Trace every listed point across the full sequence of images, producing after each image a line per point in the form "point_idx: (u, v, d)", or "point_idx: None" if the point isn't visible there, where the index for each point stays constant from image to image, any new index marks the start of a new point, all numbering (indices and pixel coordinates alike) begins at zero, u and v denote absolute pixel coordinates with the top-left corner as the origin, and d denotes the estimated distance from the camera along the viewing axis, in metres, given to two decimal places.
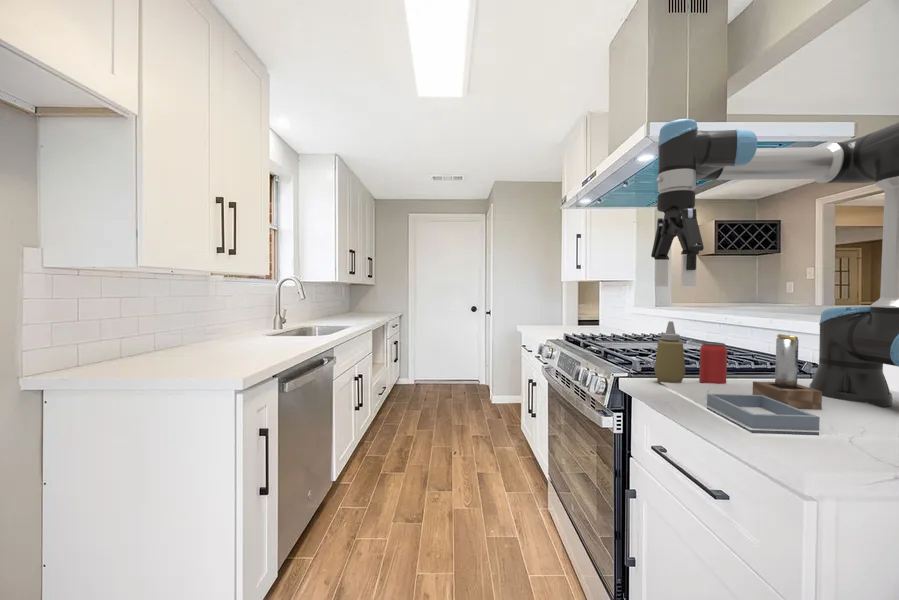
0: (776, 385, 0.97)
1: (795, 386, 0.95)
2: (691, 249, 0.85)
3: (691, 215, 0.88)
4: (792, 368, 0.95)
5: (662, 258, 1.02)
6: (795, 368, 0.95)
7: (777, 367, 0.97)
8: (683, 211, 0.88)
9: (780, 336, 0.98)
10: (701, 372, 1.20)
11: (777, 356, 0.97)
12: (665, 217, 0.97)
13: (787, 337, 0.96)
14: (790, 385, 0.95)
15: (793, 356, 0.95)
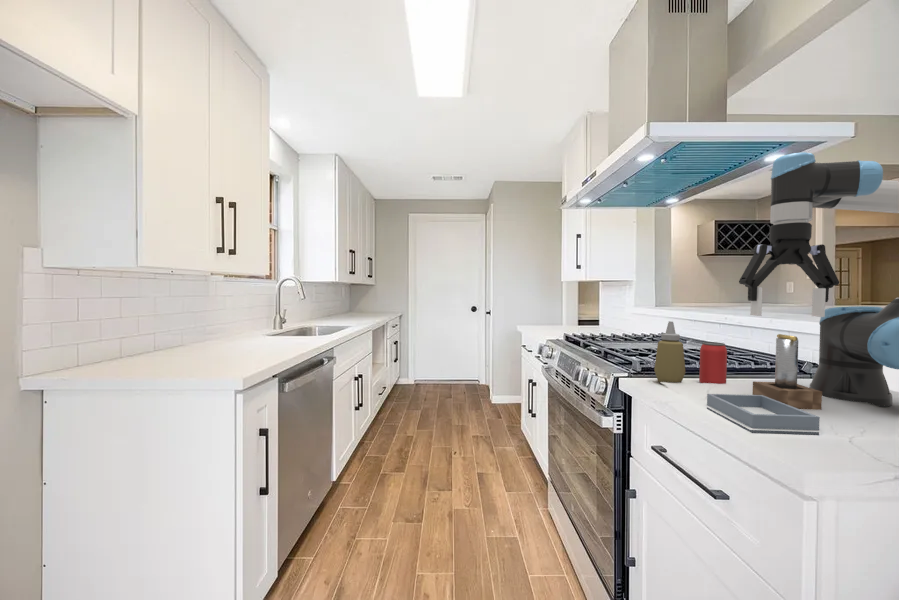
0: (776, 385, 0.97)
1: (795, 386, 0.95)
2: (740, 283, 0.98)
3: (758, 251, 0.96)
4: (791, 368, 0.95)
5: (821, 286, 0.96)
6: (795, 368, 0.95)
7: (777, 367, 0.97)
8: None
9: (780, 336, 0.98)
10: (701, 372, 1.20)
11: (777, 356, 0.97)
12: None
13: (787, 337, 0.96)
14: (790, 385, 0.95)
15: (793, 356, 0.95)
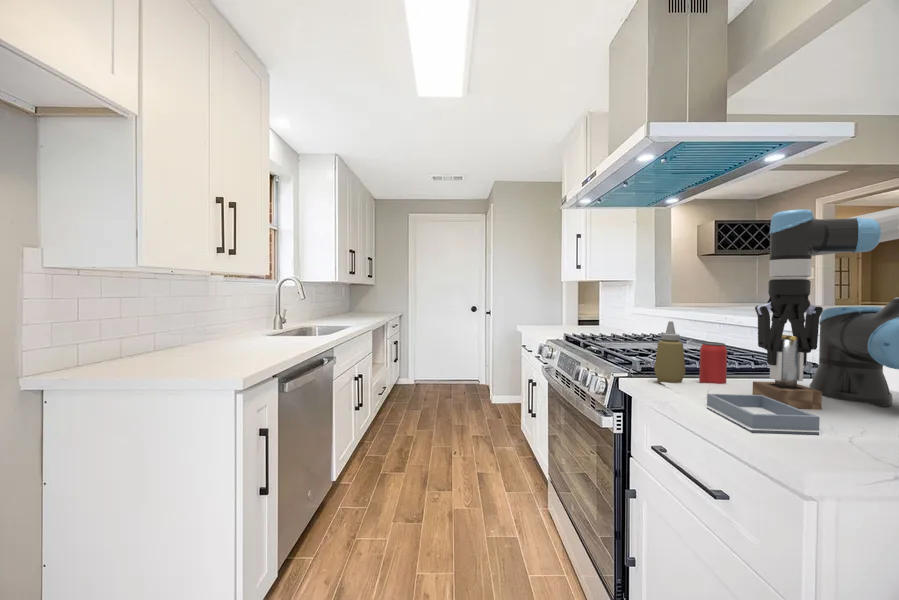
0: (776, 385, 0.97)
1: (795, 386, 0.95)
2: None
3: (760, 313, 0.97)
4: (791, 368, 0.95)
5: (799, 349, 0.96)
6: (795, 368, 0.95)
7: None
8: None
9: None
10: (701, 372, 1.20)
11: None
12: None
13: (787, 337, 0.96)
14: (790, 385, 0.95)
15: (793, 356, 0.95)
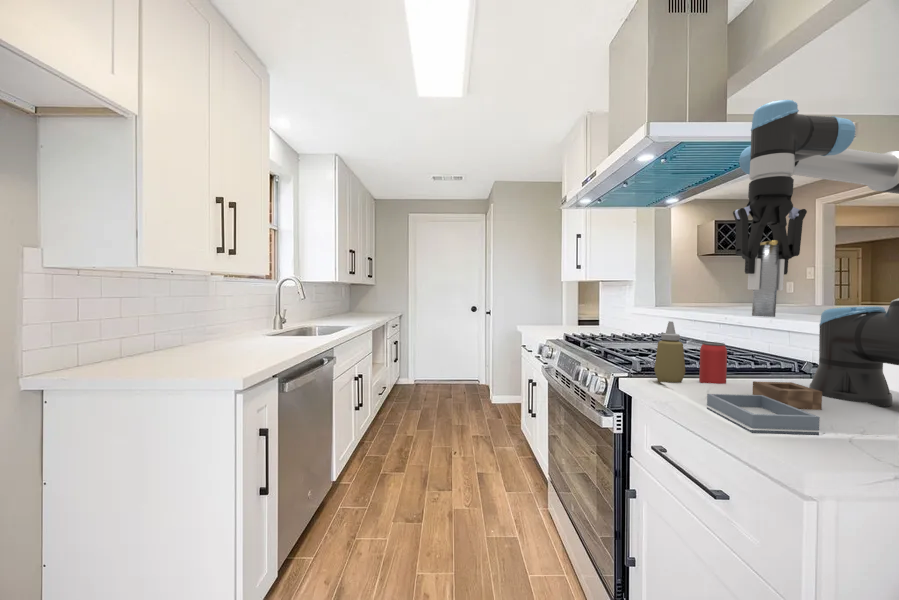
0: (754, 296, 0.89)
1: (774, 295, 0.87)
2: (737, 255, 0.90)
3: (738, 217, 0.89)
4: (770, 275, 0.87)
5: (780, 256, 0.88)
6: (774, 275, 0.87)
7: None
8: None
9: (760, 244, 0.90)
10: (701, 372, 1.20)
11: None
12: None
13: (767, 243, 0.88)
14: (769, 294, 0.87)
15: (773, 262, 0.87)
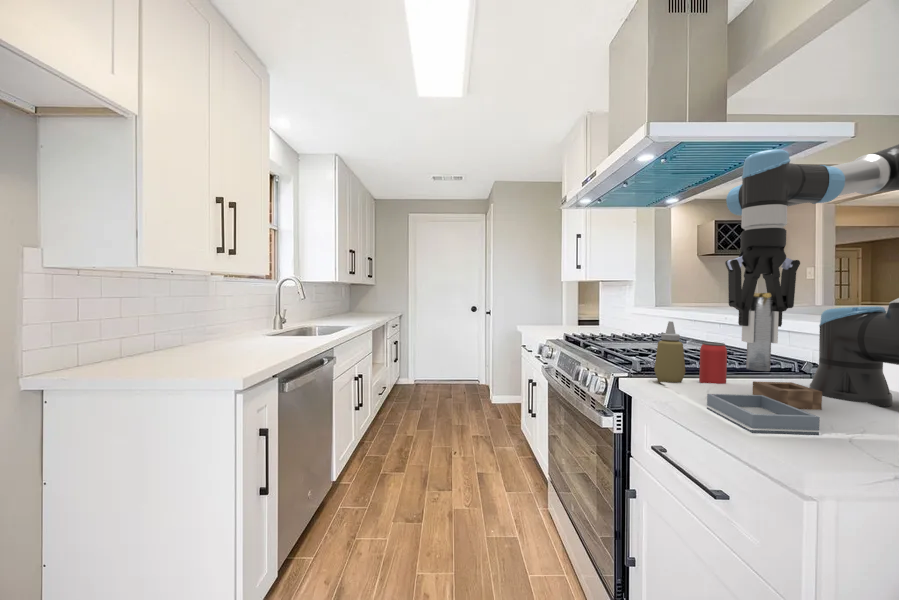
0: (748, 349, 0.87)
1: (769, 349, 0.85)
2: None
3: (731, 268, 0.86)
4: (765, 328, 0.85)
5: (774, 308, 0.86)
6: (769, 329, 0.85)
7: None
8: None
9: None
10: (701, 372, 1.20)
11: None
12: None
13: (760, 295, 0.86)
14: (763, 348, 0.85)
15: (766, 315, 0.85)
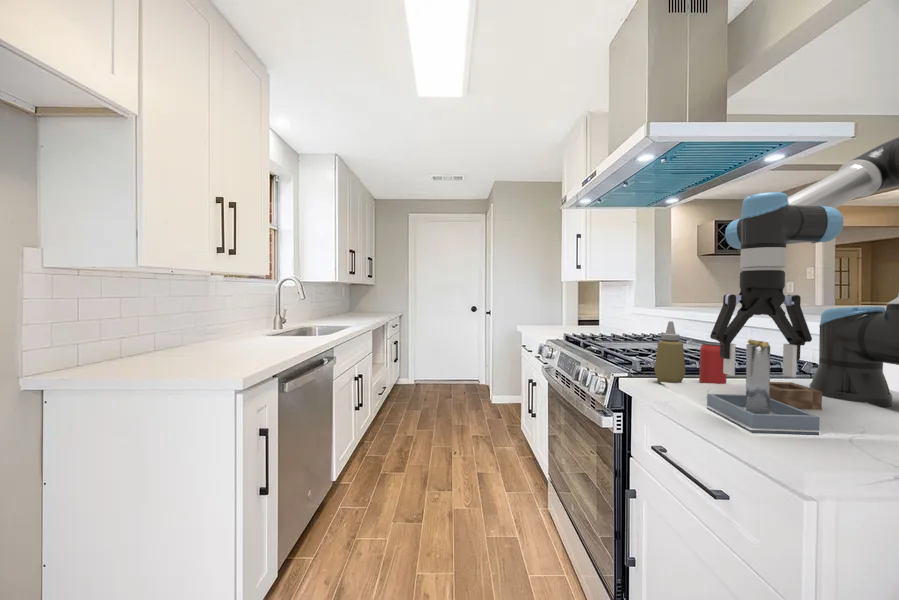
0: (747, 396, 0.87)
1: (767, 398, 0.85)
2: (711, 338, 0.88)
3: (727, 302, 0.87)
4: (763, 377, 0.85)
5: (792, 342, 0.86)
6: (767, 377, 0.85)
7: (748, 376, 0.87)
8: None
9: (751, 342, 0.89)
10: (701, 372, 1.20)
11: (747, 364, 0.87)
12: None
13: (758, 343, 0.86)
14: (762, 397, 0.85)
15: (765, 364, 0.85)
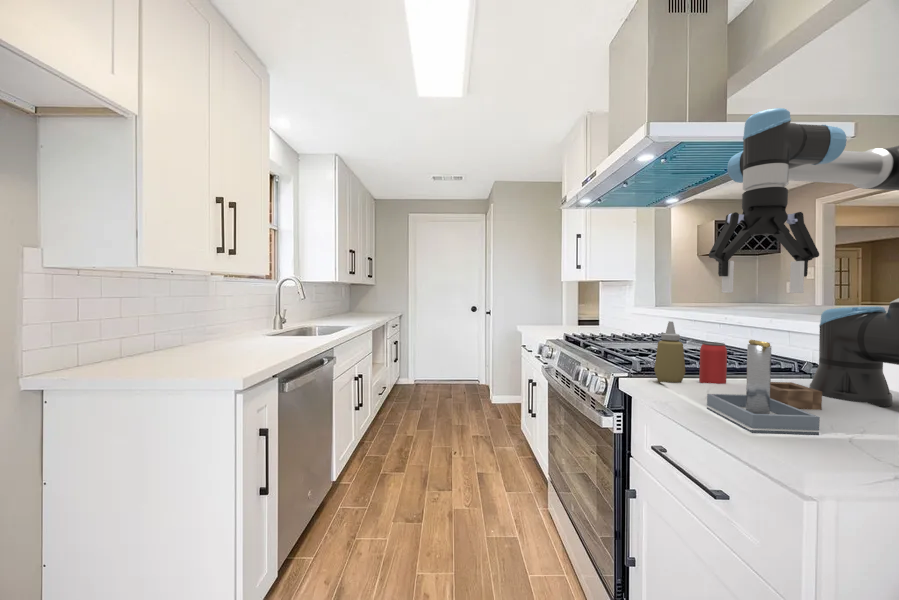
0: (747, 396, 0.87)
1: (768, 398, 0.85)
2: None
3: (729, 220, 0.86)
4: (764, 377, 0.85)
5: (800, 259, 0.85)
6: (768, 378, 0.85)
7: (748, 376, 0.87)
8: None
9: (752, 342, 0.88)
10: (701, 372, 1.20)
11: (748, 364, 0.87)
12: None
13: (759, 343, 0.86)
14: (763, 397, 0.85)
15: (765, 364, 0.85)
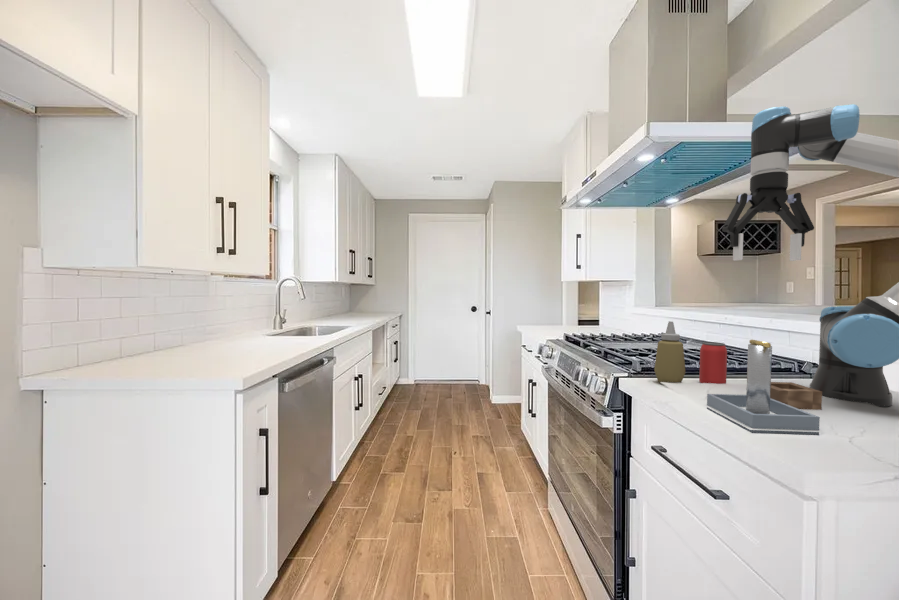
0: (747, 396, 0.87)
1: (768, 398, 0.85)
2: (723, 230, 1.06)
3: (739, 200, 1.04)
4: (764, 377, 0.85)
5: (798, 232, 1.03)
6: (768, 378, 0.85)
7: (748, 376, 0.87)
8: None
9: (752, 342, 0.88)
10: (701, 372, 1.20)
11: (749, 364, 0.87)
12: None
13: (760, 343, 0.86)
14: (763, 397, 0.85)
15: (766, 364, 0.85)
